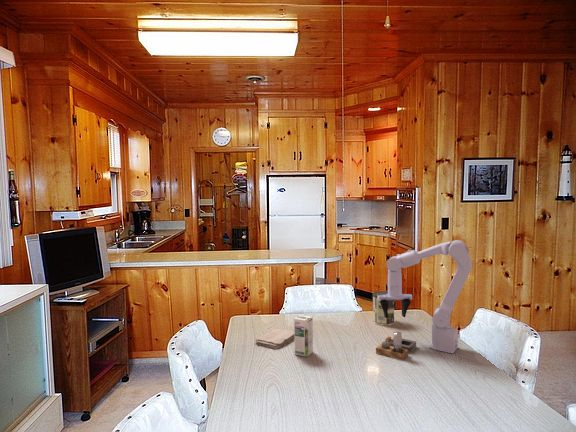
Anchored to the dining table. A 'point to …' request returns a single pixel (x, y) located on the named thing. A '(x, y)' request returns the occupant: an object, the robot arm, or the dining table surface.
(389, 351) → the frame
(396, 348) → the metallic rounded cylinder
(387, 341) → the drift key
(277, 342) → the washcloth
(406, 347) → the socket block
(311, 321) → the syrup box
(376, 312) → the coffee can
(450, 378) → the dining table surface
